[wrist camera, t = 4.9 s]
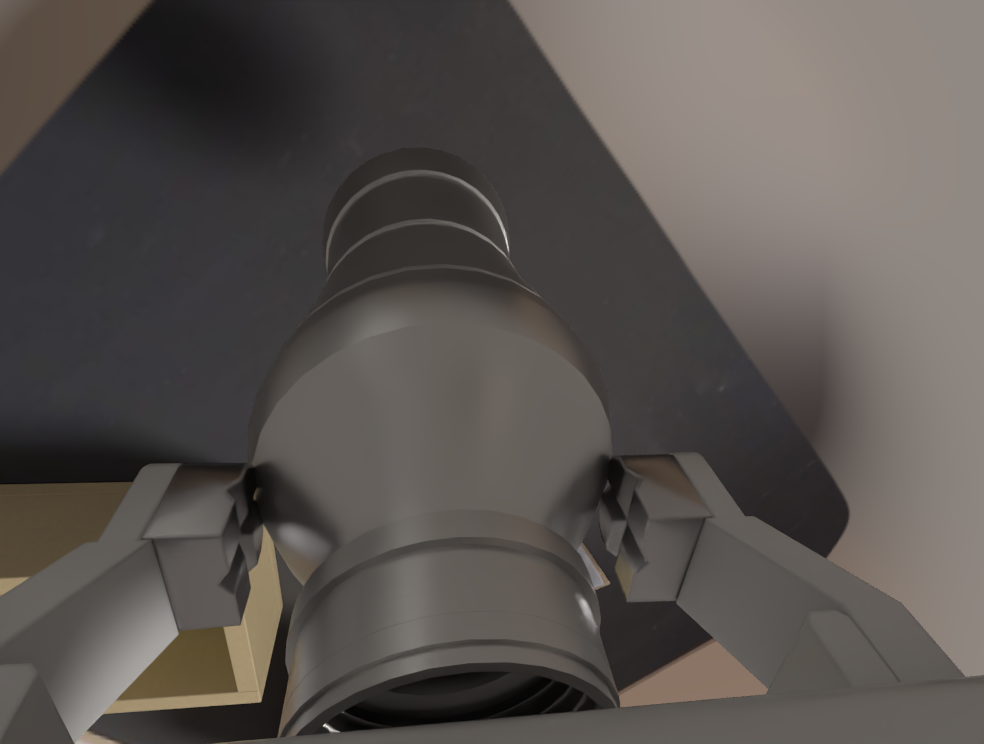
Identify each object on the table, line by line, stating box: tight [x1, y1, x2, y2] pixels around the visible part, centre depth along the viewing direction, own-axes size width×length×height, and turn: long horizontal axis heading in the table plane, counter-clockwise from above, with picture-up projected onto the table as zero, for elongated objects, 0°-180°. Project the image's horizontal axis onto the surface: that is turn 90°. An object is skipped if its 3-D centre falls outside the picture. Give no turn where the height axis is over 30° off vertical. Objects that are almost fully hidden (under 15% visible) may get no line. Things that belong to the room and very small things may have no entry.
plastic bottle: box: [248, 148, 620, 738], centre depth 15 cm, size 6×7×20 cm
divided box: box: [0, 482, 283, 714], centre depth 34 cm, size 11×22×7 cm, turn 86°
